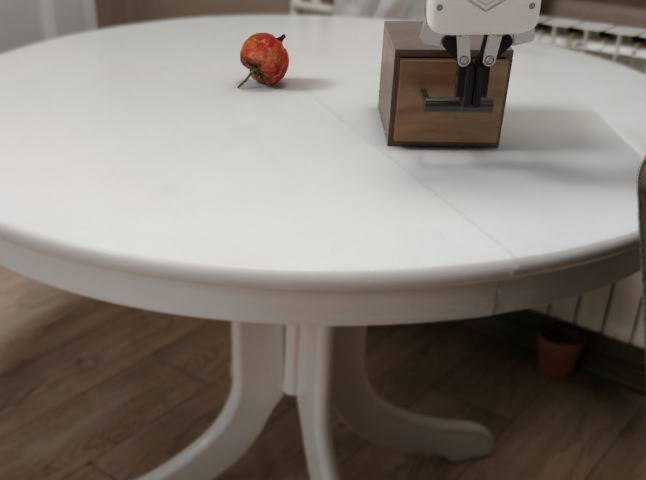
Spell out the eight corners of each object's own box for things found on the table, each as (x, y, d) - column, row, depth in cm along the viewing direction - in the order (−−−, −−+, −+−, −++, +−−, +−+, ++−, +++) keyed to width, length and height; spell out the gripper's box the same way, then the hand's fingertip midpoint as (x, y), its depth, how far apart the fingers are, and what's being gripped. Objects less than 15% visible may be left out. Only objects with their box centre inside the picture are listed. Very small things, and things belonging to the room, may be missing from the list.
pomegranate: (261, 110, 112) (313, 59, 111) (228, 69, 108) (281, 16, 108) (244, 102, 118) (292, 53, 118) (212, 63, 114) (262, 13, 114)
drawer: (506, 159, 85) (520, 74, 81) (398, 158, 86) (406, 73, 81) (474, 105, 102) (484, 33, 98) (384, 104, 103) (390, 32, 98)
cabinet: (498, 147, 92) (514, 50, 86) (387, 145, 92) (395, 49, 86) (475, 107, 105) (487, 21, 99) (377, 106, 105) (384, 20, 100)
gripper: (410, -101, 68) (396, 116, 78) (592, -105, 67) (554, 114, 77) (402, -107, 74) (390, 94, 84) (568, -111, 73) (536, 93, 83)
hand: (469, 103), depth 80 cm, fingers closed
